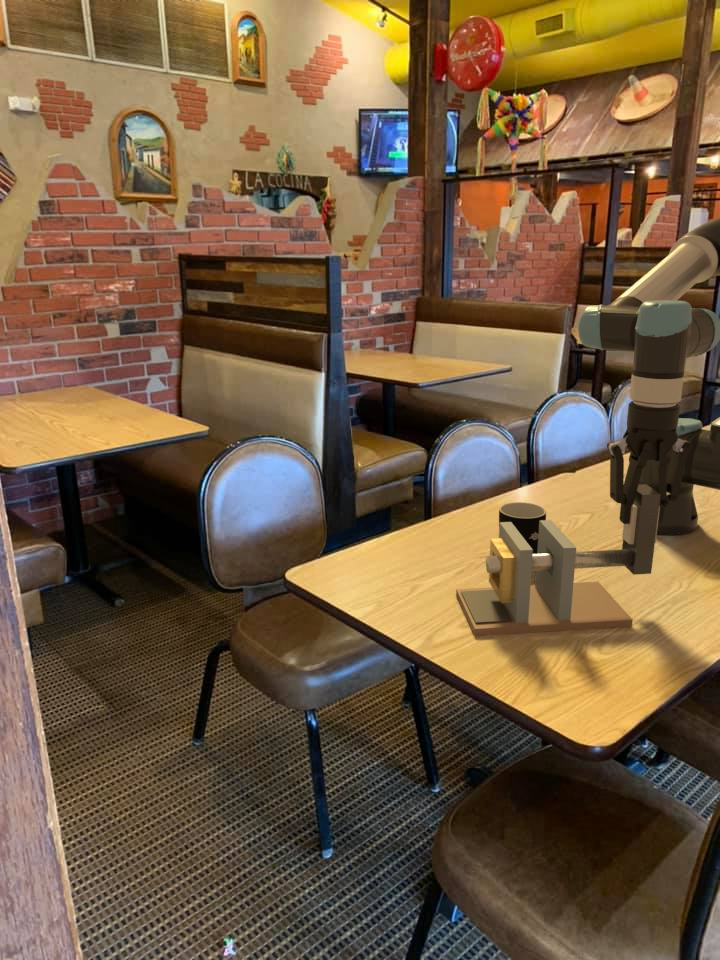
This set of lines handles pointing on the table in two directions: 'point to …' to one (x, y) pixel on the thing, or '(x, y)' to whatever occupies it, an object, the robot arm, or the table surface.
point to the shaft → (629, 556)
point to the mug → (524, 520)
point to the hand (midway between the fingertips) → (638, 540)
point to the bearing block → (542, 592)
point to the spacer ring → (503, 571)
